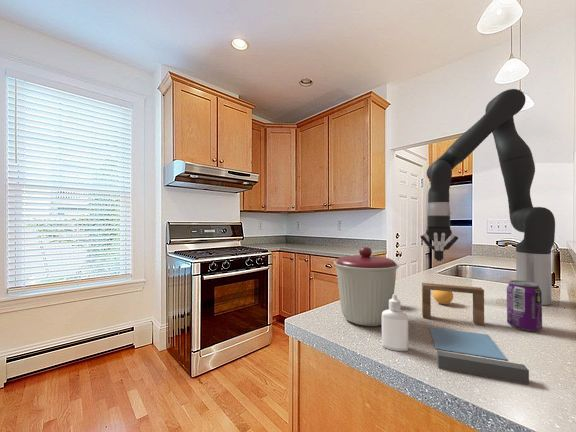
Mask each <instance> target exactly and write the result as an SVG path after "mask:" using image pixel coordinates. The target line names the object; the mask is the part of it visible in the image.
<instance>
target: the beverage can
mask: <svg viewBox="0 0 576 432" xmlns="http://www.w3.org/2000/svg"><path fill="white" fill-rule="evenodd" d="M506 323H508V324H509V325H510V326H512V327H513V328H515V329H518V330H520V331H525V332H537V331H541V330H542V329H543V305H542V292H541V290H540V288H539V284H537V283H533V282H528V281H519V280H516V279H512V280H508V285H507V286H506Z"/></svg>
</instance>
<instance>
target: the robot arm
mask: <svg viewBox="0 0 576 432" xmlns="http://www.w3.org/2000/svg"><path fill="white" fill-rule="evenodd" d="M526 100H527V98H526V95H525V93H524V92H523V91H521V90H520V89H516V88H509V89H506V90H504V91H502V92H499V93H498V95H496V96H495V97H493V98H492V99H491V100H490V101H489V102H488V103H487V104H486V106H485V113H484V115H483V116H481V118H480V119H479V120H478V121H477V122H475V123H474V124H473V125H472V126H470V127H469V128H468V129H467V130H466V131H465V132H464V133H462V134H461V135H460V136H459V137H458V138H457V139H456V140H455V141H454V142H453V143H452V144H451V145H450V146H449V147H448V148H447V149H446V151H444V153H442V154H441V156H439V157H438V158H437V159H436V160H435V161H433V162H432V164H431V165H428V167H427V170H426V177H427V179H428V180H430V187H429V189H428V193H427V196H428V197H427V198H428V199H427V216H426V217H427V218H426V219H427V229H426V231H425V233H424V234H422V235H420V239H421V240H422V241H423V242H424V243H425V245H426V246H427V248H429V249H430V250H433V251H434V252H433V254H434V255H433V257H434V259H435V260H436V262H437V261H438V262H441V261H443V260H444V252H445V251H447V250H450V248H452V246H453V245H454V244H455V243H456V242H457V241H458V239H459V237H458V236H456V235H455V234H453V232H452V230H451V215H452V214H451V213H452V212H451V205H450V189H451V188H450V187H451V182H452V178H453V170H454V169H455V168H456V167H457V166H458V165H460V164H461V163H462V162H463V161H465V160H466V159H467V158H468V157H469V156H470V155H471V154H472V153H474V151H475V150H476V149H477V148H478V147H479V146H480V145H481V144H482V143H483V142H484V141H485V140H486V139H487V138H488V137H489V136H490V135H491V134H492V135H493V140H494V144H495V149H496V152H497V156H498V162H499V163H498V164H499V166H500V172H501V175H502V178H503V182H504V186H505V187H504V188H505V192H506V196H507V203H508V213H509V221H510V223H511V226H512V227H513V229H514V230H515V231H517V232H519V233H523V234H524V235H523V239H522V241H520V242H517V243H516V244H515V265H516V266H515V269H516V270H515V273H516V274H515V280H519V281H528V282H533V283H537V284H539V288H540V290H541V292H542V306H550V305H552V301H553V300H552V290H553V289H552V248H553V247H554V244H555V234H556V219H555V215H554V213H553V212H552V211H551V210H550V209H548V208H547V207H542V206H534V205H533V203H532V202H533V201H532V197H531V188H532V184H533V181H534V178H535V173H536V165H535V160H534V156H533V153H532V151H531V148H530V147H529V145H528V144H527V143H526V141H525V140H523V138H522V137H521V136H520V135H519V133H518V131H517V128H516V125H515V121H514V118H515V117H514V116H516V115H517V114H518V113H519V112H520V111H522V109H523V108H524V107H525V104H526ZM428 238H429V239H430V240H431V241H432V243H433V245H432V244H431V243H430V242H429V240H428ZM448 239H449V240H448ZM447 240H448V242H447V243H446V244H445V242H446V241H447Z"/></svg>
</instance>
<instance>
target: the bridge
mask: <svg viewBox="0 0 576 432" xmlns="http://www.w3.org/2000/svg"><path fill="white" fill-rule="evenodd" d="M434 290H438V291H450V292H452V293H463V294H472V321H473V323H474V324H475V325H476V326H483V327H485V290H484V288H482V287H481V286H480V287H478V286H466V285H464V286H463V285H455V284H453V285H452V284H441V283H430V282H429V283H427V282H422V283H421V312H422V313H421V315H422V319H427V320H431V317H432V311H431V310H432V305H431V304H432V303H431V299H432V297H431V295H432V294H431V291H434Z"/></svg>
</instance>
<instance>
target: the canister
mask: <svg viewBox="0 0 576 432" xmlns="http://www.w3.org/2000/svg"><path fill="white" fill-rule="evenodd" d="M358 253H359V254H358V255H357V254H356V255H345V256H341V257H339V258H338V259H336V260H334V261H333V265H335V266H336V267H335V268H336V277H337V284H338V285H337V286H338V295H339V301H340V302H339V303H340V308H341V313H342V316H343V317H344V318H345V319H346V320H347V321H348V322H350V323H352V324H355V325H359V326H365V327H378V326H382V312H383V311H385V310H388V309H389V300H390V299H392V297H393V294H395V288H396V279H397V278H396V277H397V269H398V268H400V264H399V263H397V262H395V260H393V259H391V258H388V257H385V256H380V255H379V256H378V255H372V253H373V251H372V249H371V248H370V247H368V246H363V247H360V249H359V250H358Z"/></svg>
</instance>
